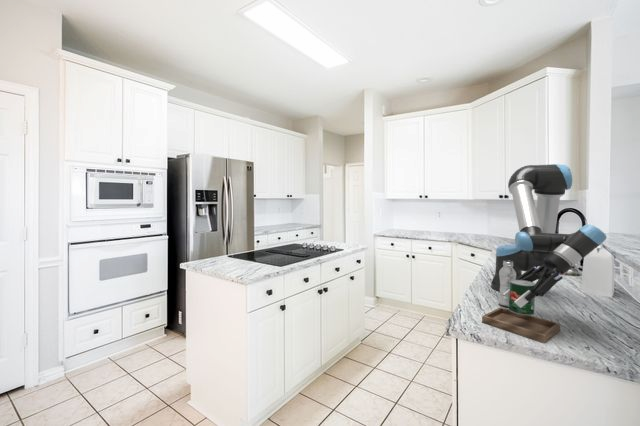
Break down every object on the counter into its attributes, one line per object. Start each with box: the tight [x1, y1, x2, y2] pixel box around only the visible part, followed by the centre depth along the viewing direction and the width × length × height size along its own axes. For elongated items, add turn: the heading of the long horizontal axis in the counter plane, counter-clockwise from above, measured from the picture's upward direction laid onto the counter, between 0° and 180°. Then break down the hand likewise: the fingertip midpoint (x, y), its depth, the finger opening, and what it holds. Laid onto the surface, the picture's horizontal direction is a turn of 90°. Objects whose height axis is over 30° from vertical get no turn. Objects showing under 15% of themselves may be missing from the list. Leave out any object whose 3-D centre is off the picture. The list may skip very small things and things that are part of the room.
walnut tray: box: [481, 307, 561, 344], centre depth 110 cm, size 20×16×2 cm
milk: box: [580, 242, 615, 298], centre depth 151 cm, size 12×12×26 cm
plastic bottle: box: [497, 261, 516, 308], centre depth 131 cm, size 6×7×20 cm
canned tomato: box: [508, 280, 536, 316], centre depth 109 cm, size 8×8×11 cm
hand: (511, 300), depth 110 cm, fingers closed on canned tomato, 8 cm apart
